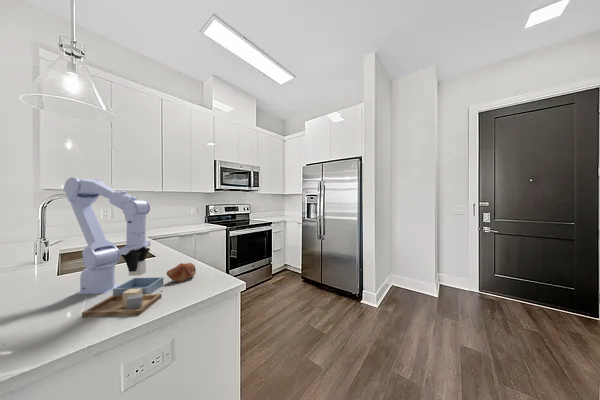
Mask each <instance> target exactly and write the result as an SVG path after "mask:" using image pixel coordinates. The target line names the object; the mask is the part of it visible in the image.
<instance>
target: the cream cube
mask: <svg viewBox="0 0 600 400" xmlns="http://www.w3.org/2000/svg"><path fill="white" fill-rule="evenodd" d="M138 294H142V289H128V290H127V291H125V292H123V300H122V307H127V299H128V297H129V296H131V295H138Z"/></svg>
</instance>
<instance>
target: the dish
mask: <svg viewBox="0 0 600 400" xmlns="http://www.w3.org/2000/svg"><path fill="white" fill-rule="evenodd" d="M118 285H119V286H118V287H116V288H114V289H113V290H112V295H123V292H125V291H127V290H128V289H142V294H154V292H155V291H157V290H158V289H160V288H161V287H163V286H164V276H161V277H160V276H159V277H157V276H156V277H133V278H131V279H130V280H127V281H125V282H124V283H122V284H118Z"/></svg>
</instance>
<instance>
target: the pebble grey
mask: <svg viewBox="0 0 600 400" xmlns="http://www.w3.org/2000/svg"><path fill="white" fill-rule="evenodd" d="M146 268H147V260H145V261H138V263H137V269H136V271H135V272H129V271H128V276H130V277H132V276H142V275H145V274H146V273H147V271H146V270H147V269H146Z"/></svg>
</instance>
